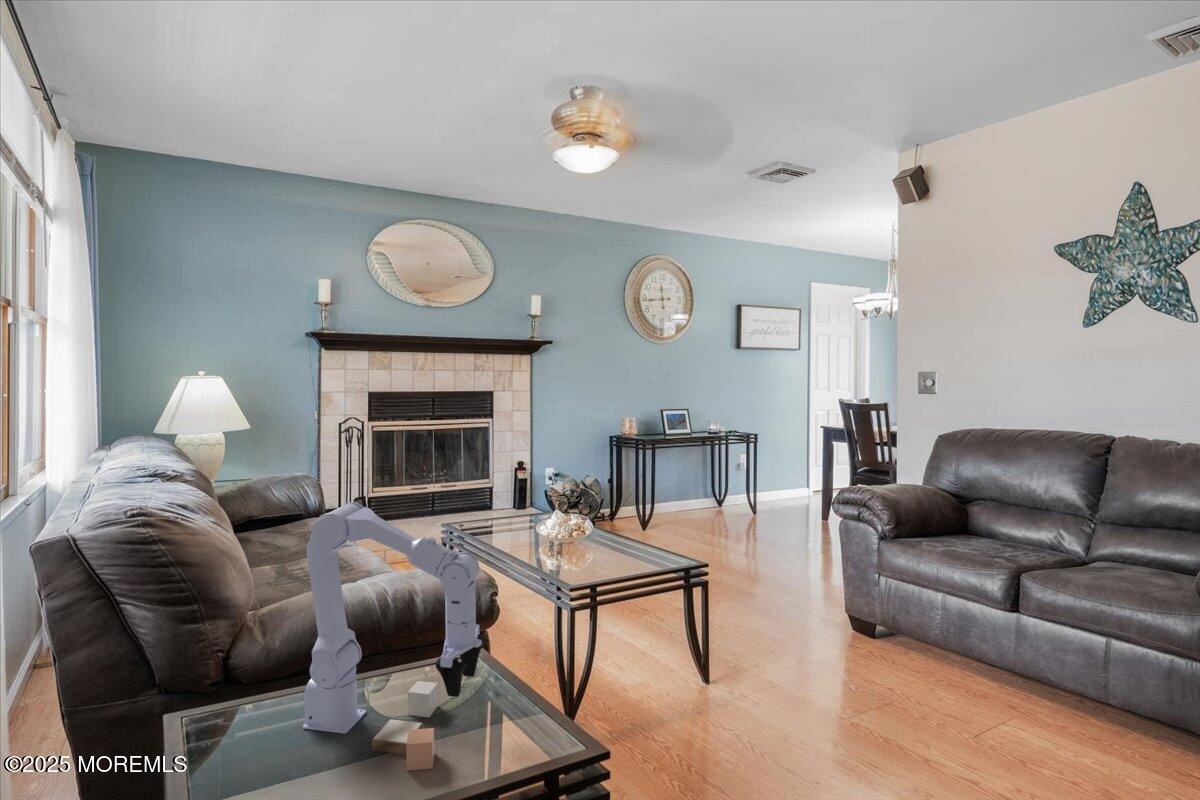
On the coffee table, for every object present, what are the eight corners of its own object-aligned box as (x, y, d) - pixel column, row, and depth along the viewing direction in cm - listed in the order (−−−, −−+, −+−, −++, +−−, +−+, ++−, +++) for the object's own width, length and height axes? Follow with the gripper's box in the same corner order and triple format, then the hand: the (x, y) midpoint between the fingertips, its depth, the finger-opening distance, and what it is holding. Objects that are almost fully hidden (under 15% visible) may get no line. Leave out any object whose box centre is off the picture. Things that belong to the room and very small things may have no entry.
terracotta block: (406, 770, 125) (406, 744, 125) (409, 755, 130) (409, 729, 129) (432, 768, 126) (432, 742, 125) (434, 753, 130) (434, 727, 130)
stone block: (408, 715, 143) (407, 691, 142) (418, 703, 147) (417, 680, 147) (428, 717, 142) (428, 694, 142) (438, 705, 147) (437, 683, 146)
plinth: (372, 751, 131) (371, 739, 131) (390, 730, 138) (389, 718, 138) (407, 756, 130) (406, 743, 130) (423, 734, 137) (423, 722, 137)
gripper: (465, 636, 127) (466, 707, 128) (493, 605, 141) (493, 669, 142) (429, 632, 128) (430, 703, 129) (460, 602, 142) (461, 665, 144)
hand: (461, 685), depth 136 cm, fingers open, 7 cm apart
